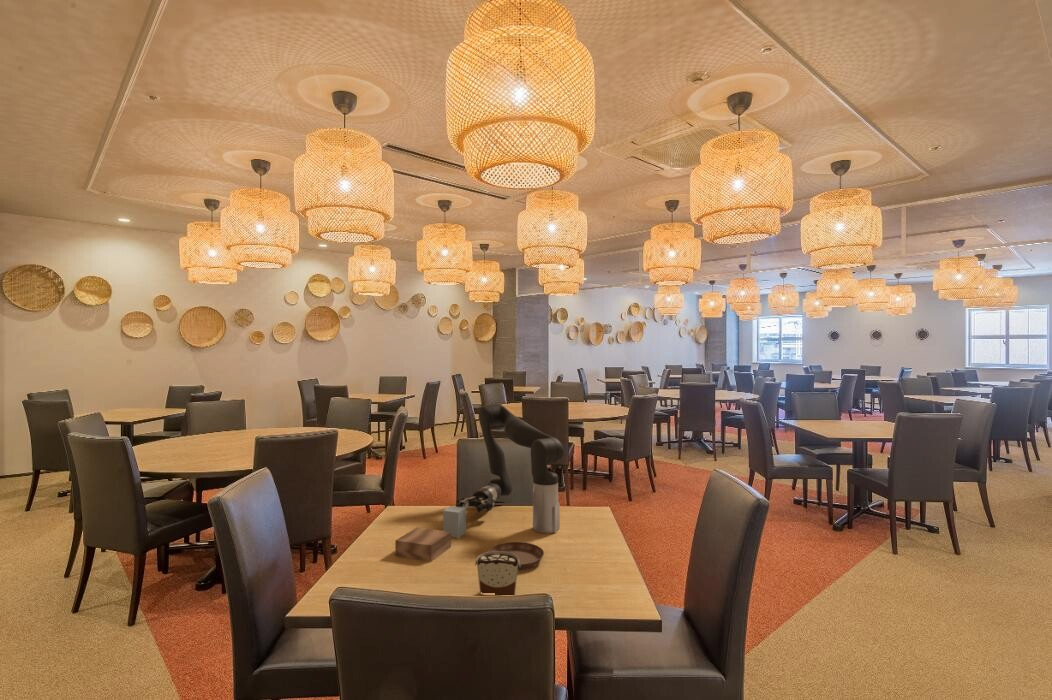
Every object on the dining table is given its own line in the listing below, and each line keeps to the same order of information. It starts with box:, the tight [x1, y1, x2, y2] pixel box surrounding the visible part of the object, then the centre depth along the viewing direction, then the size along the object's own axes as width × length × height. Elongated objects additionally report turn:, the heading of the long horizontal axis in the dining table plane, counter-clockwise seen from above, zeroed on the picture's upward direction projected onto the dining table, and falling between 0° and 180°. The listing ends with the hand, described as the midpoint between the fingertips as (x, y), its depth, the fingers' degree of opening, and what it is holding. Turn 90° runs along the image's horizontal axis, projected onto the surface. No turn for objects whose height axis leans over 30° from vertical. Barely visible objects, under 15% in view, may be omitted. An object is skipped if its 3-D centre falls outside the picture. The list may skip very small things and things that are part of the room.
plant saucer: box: [487, 541, 545, 571], centre depth 168 cm, size 18×18×3 cm
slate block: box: [442, 505, 467, 539], centre depth 192 cm, size 6×6×9 cm
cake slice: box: [474, 551, 520, 596], centre depth 147 cm, size 12×6×10 cm, turn 84°
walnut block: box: [394, 527, 452, 562], centre depth 175 cm, size 13×13×5 cm
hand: (467, 508), depth 202 cm, fingers open, 8 cm apart
